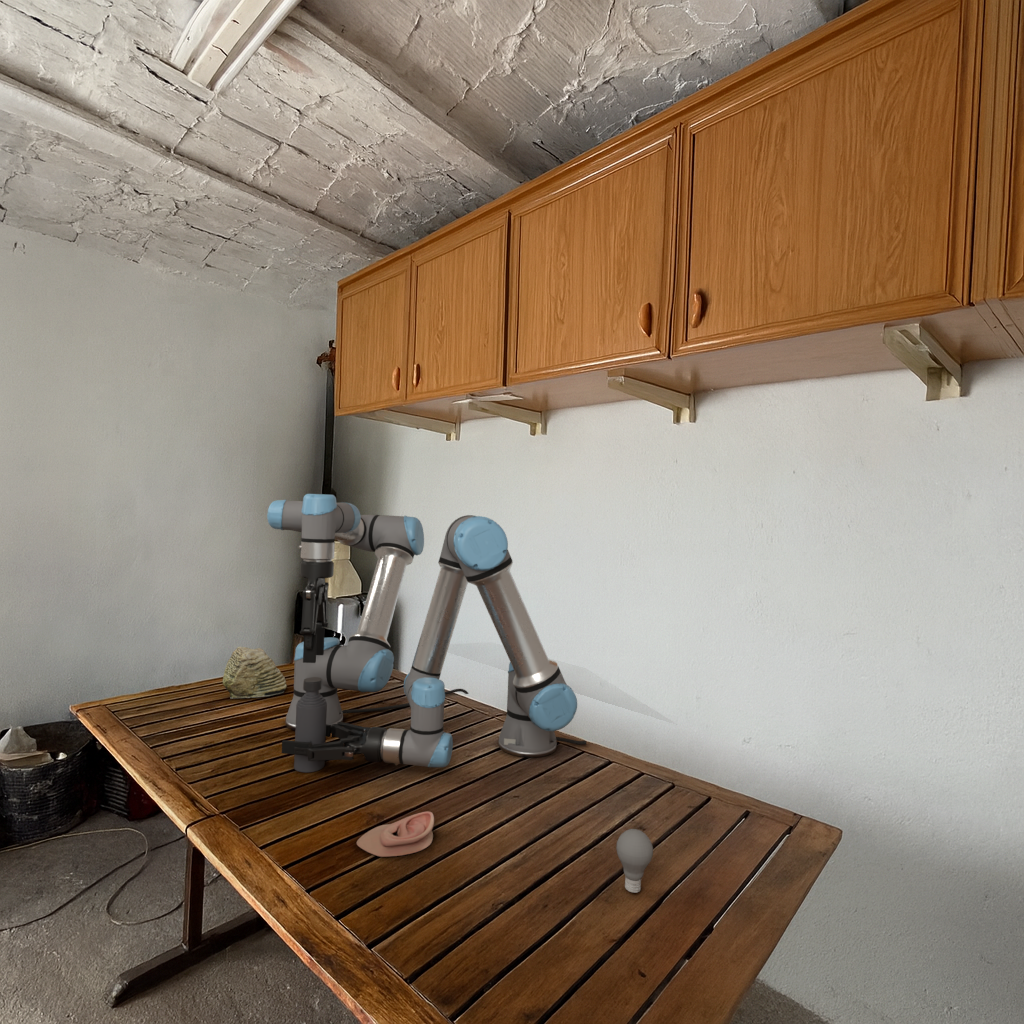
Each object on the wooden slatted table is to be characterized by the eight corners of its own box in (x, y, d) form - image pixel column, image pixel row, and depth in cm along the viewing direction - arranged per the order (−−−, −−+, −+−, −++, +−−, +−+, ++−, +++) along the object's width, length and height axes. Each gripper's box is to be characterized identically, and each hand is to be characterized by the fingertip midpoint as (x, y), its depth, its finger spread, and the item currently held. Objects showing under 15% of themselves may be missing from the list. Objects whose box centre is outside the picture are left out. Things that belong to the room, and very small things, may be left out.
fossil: (218, 695, 195) (220, 647, 195) (278, 685, 208) (279, 640, 207) (228, 703, 189) (230, 653, 188) (289, 692, 201) (290, 645, 201)
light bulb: (610, 879, 108) (613, 822, 108) (644, 879, 109) (647, 822, 109) (619, 902, 102) (622, 840, 102) (655, 901, 103) (658, 840, 103)
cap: (318, 691, 146) (318, 682, 146) (300, 691, 146) (301, 681, 146) (323, 686, 150) (324, 677, 150) (306, 685, 150) (306, 676, 150)
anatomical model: (349, 829, 113) (376, 800, 125) (348, 851, 113) (375, 820, 125) (420, 841, 111) (440, 810, 122) (419, 863, 111) (439, 830, 122)
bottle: (319, 773, 145) (322, 686, 145) (289, 771, 145) (292, 684, 145) (328, 761, 152) (331, 677, 151) (299, 759, 152) (303, 676, 151)
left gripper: (312, 555, 157) (308, 648, 157) (288, 563, 138) (284, 669, 138) (342, 556, 157) (339, 649, 158) (322, 565, 138) (318, 670, 138)
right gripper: (367, 783, 135) (269, 774, 137) (398, 742, 158) (313, 735, 160) (369, 748, 135) (270, 739, 137) (399, 712, 158) (315, 705, 160)
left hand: (313, 658), depth 148 cm, fingers open, 6 cm apart
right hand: (293, 737), depth 149 cm, fingers open, 11 cm apart
